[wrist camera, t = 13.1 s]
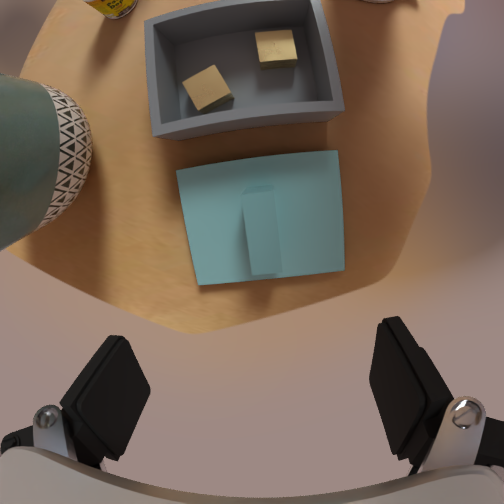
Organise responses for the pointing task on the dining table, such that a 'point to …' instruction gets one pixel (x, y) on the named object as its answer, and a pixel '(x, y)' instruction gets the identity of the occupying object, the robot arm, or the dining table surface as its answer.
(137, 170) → the dining table surface
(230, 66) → the tub
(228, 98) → the brass part
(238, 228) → the lid
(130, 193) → the dining table surface
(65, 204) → the planter
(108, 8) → the supplement bottle
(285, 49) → the brass part
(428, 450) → the robot arm
